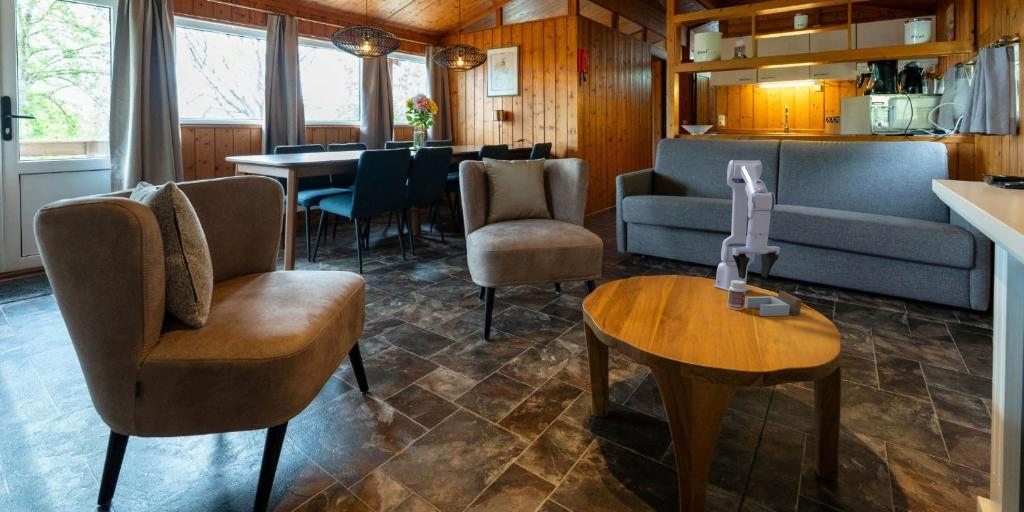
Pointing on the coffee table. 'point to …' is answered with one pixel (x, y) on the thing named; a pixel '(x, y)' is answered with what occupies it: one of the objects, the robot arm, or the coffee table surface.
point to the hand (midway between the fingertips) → (753, 277)
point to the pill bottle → (736, 295)
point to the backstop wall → (791, 302)
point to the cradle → (768, 305)
